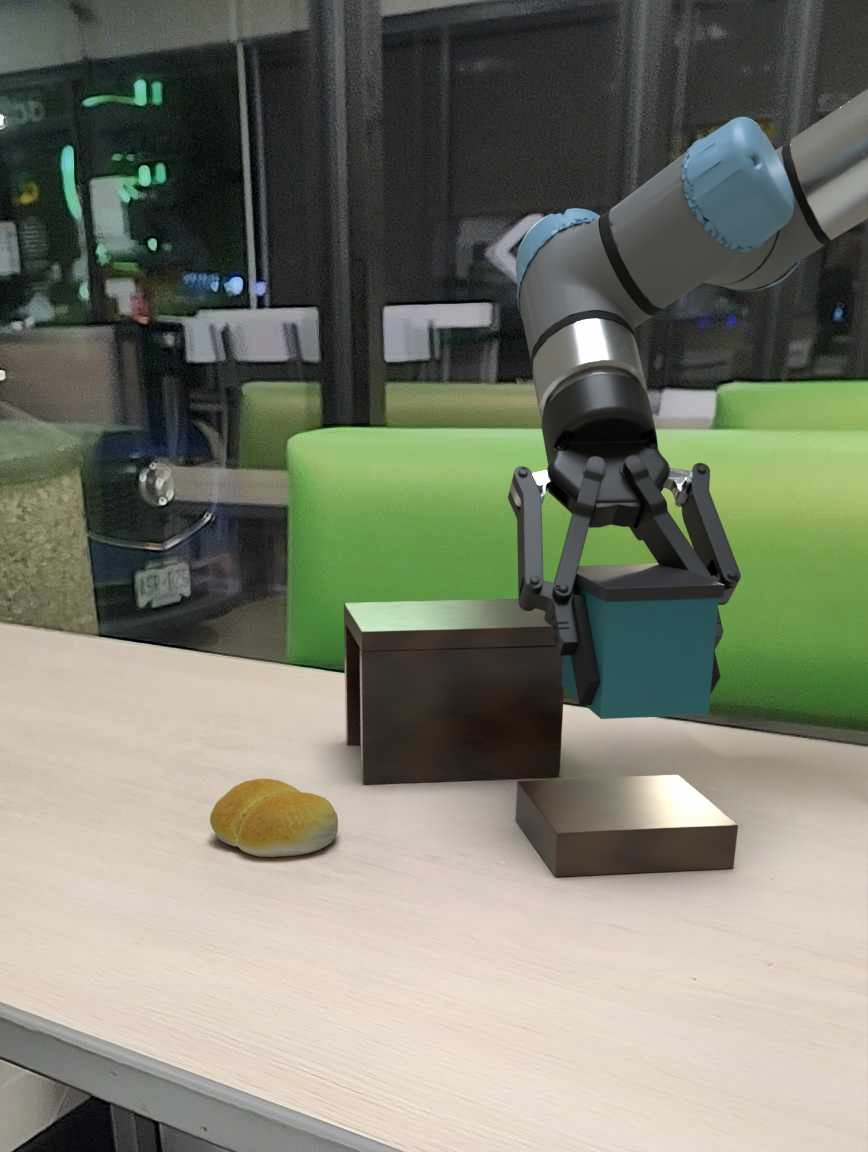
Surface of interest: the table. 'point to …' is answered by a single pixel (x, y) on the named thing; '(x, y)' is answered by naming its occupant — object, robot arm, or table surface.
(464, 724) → the top shelf
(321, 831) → the bread roll
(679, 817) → the bottom shelf
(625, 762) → the table surface
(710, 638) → the box
